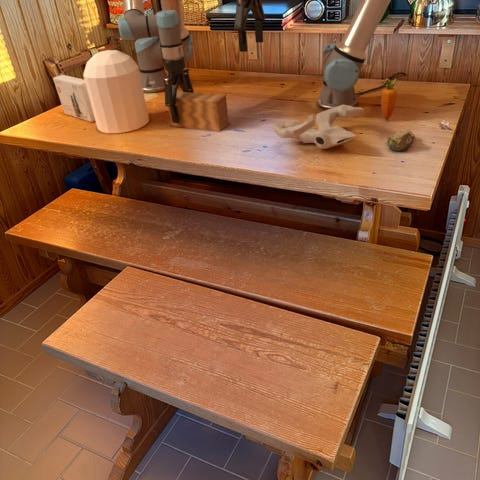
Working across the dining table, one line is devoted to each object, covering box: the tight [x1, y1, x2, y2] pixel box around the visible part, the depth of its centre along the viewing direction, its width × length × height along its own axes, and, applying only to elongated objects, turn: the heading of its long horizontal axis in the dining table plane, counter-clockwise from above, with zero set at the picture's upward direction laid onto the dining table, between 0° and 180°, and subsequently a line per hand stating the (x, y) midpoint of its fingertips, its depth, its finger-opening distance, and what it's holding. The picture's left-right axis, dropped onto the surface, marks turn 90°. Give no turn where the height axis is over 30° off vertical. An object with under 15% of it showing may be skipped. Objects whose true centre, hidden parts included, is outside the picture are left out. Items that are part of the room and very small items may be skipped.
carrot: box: [380, 78, 398, 122], centre depth 161 cm, size 5×5×15 cm
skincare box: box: [52, 74, 96, 123], centre depth 193 cm, size 21×6×16 cm, turn 49°
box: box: [167, 91, 230, 132], centre depth 175 cm, size 22×7×11 cm, turn 64°
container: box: [82, 49, 150, 134], centre depth 178 cm, size 21×21×28 cm
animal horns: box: [273, 105, 365, 150], centre depth 153 cm, size 28×26×12 cm
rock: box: [387, 129, 416, 152], centre depth 146 cm, size 11×6×10 cm
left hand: (183, 118), depth 180 cm, fingers open, 9 cm apart
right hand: (251, 46), depth 163 cm, fingers open, 13 cm apart
